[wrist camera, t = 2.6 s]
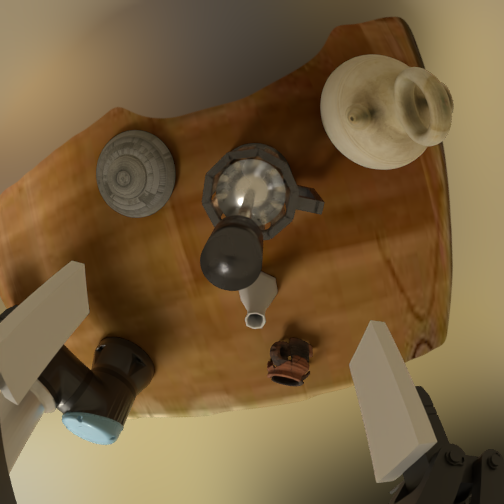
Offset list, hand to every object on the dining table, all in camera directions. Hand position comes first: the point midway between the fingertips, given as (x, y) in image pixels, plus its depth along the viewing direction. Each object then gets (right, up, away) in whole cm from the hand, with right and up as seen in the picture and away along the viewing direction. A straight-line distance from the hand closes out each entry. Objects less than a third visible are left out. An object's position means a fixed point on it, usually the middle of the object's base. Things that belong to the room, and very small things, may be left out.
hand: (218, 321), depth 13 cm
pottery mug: (+9, -17, +47) cm, 51 cm away
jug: (+18, +25, +29) cm, 42 cm away
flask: (+3, -3, +42) cm, 42 cm away
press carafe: (+3, +14, +34) cm, 37 cm away
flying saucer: (-18, +16, +35) cm, 43 cm away
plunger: (+1, +10, +24) cm, 26 cm away
